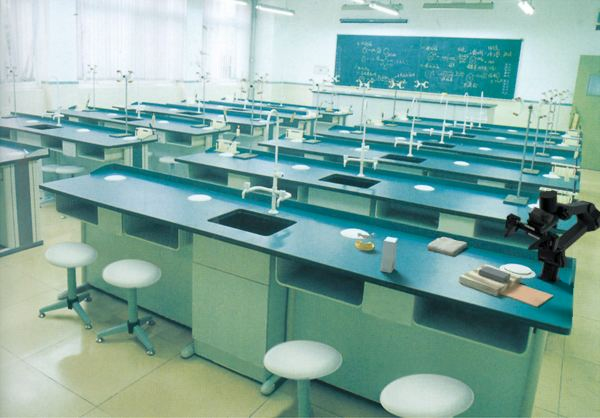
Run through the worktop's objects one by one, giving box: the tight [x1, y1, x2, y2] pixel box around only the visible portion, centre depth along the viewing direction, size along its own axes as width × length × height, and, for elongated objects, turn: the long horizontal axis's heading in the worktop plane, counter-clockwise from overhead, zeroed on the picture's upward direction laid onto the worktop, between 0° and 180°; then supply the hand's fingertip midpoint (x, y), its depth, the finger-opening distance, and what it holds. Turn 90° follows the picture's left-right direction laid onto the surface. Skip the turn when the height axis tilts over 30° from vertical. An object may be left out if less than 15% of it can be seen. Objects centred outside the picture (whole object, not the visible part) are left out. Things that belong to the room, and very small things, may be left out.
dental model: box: [354, 232, 376, 251], centre depth 209 cm, size 8×7×7 cm
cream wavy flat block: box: [458, 264, 523, 297], centre depth 181 cm, size 20×14×2 cm
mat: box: [499, 283, 554, 308], centre depth 172 cm, size 14×12×1 cm
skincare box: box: [379, 236, 399, 274], centre depth 186 cm, size 6×4×12 cm
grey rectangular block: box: [478, 266, 511, 283], centre depth 180 cm, size 6×9×2 cm, turn 44°
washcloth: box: [426, 236, 468, 257], centre depth 216 cm, size 12×18×3 cm, turn 144°
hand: (516, 242), depth 170 cm, fingers open, 9 cm apart
